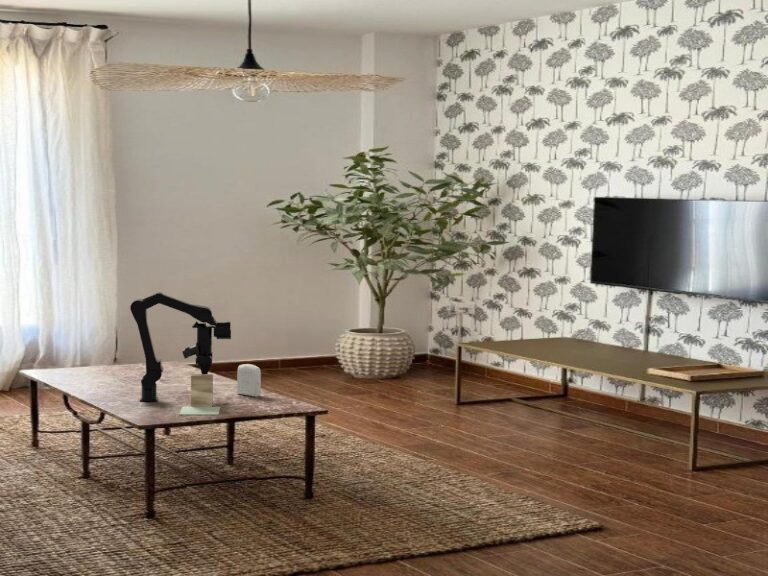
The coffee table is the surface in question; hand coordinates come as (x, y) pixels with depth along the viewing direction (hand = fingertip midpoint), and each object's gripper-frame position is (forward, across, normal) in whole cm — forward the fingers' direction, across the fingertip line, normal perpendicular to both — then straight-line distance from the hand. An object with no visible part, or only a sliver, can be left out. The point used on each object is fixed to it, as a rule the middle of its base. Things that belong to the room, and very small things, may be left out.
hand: (204, 379), depth 447 cm
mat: (+8, +22, -1) cm, 24 cm away
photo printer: (+8, -10, +18) cm, 22 cm away
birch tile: (+8, +13, -1) cm, 15 cm away
